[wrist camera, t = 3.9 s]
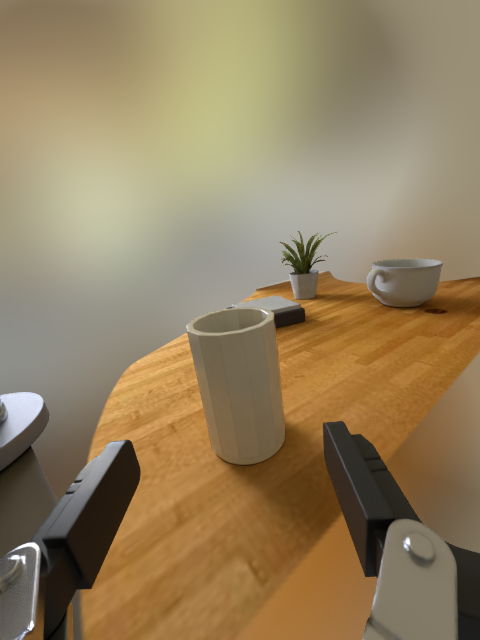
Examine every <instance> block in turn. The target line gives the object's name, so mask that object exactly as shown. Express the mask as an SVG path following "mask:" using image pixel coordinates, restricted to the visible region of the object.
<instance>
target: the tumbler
mask: <svg viewBox="0 0 480 640" xmlns="http://www.w3.org/2000/svg"><path fill="white" fill-rule="evenodd" d="M186 328H187V333H188V337H189V342H190V347H191V351H192V356H193V361H194V366H195V370H196V375H197V380H198V384H199V389H200V394H201V399H202V403H203V408H204V413H205V417H206V422H207V427H208V432H209V436H210V441H211V445H212V448H213V450H214V452H215V453H216V454H217V455H218V456H219V457H220V458H222V459H223V460H225V461H227V462H230V463H233V464H238V465H250V464H256V463H259V462H262V461H264V460H266V459H268V458H270V457H271V456H273V455H274V454H275V453H276V452H277V451H278V450H279V449H280V448H281V446H282V444H283V442H284V440H285V433H286V431H285V416H284V406H283V396H282V386H281V376H280V366H279V355H278V345H277V335H276V325H275V315H274V313H273V312H272V311H270V310H268V309H265V308H257V307H238V308H231V309H224V310H219V311H215V312H212V313H207V314H205V315H202V316H200V317H198V318H196V319H193V320H192V321H191V322H190V323H189V324H187V326H186Z"/></svg>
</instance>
